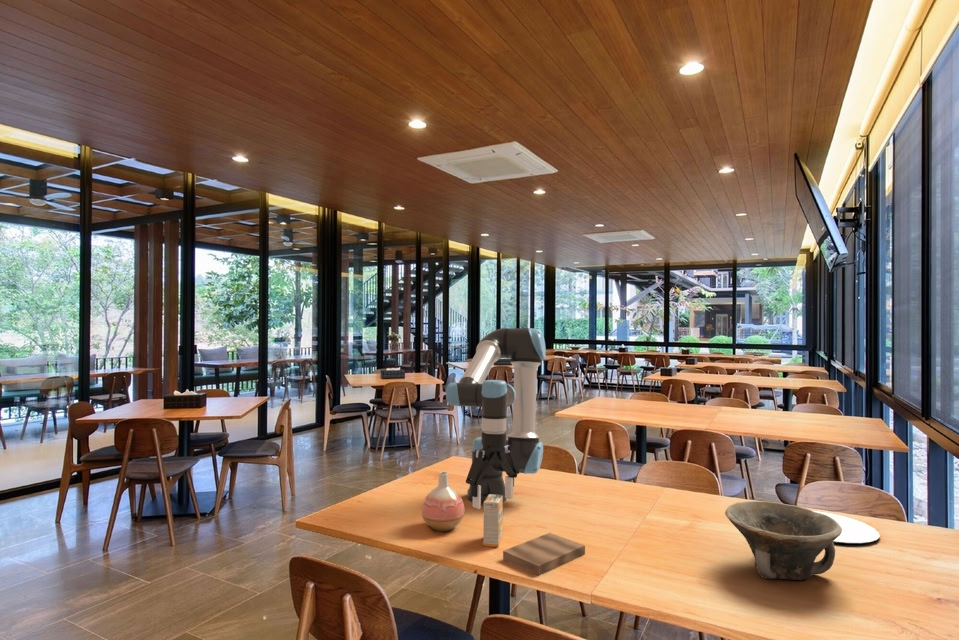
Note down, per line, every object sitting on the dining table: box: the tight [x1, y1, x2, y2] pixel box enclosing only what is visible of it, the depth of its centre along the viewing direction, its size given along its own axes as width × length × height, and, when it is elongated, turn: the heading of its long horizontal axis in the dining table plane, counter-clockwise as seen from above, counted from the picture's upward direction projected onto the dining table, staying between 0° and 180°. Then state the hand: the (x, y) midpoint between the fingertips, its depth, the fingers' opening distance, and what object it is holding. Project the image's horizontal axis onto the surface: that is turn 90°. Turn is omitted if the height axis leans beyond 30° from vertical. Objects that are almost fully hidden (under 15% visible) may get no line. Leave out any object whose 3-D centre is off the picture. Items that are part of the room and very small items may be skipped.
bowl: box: [724, 500, 842, 581], centre depth 143 cm, size 27×26×15 cm
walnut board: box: [502, 532, 586, 577], centre depth 152 cm, size 20×13×2 cm, turn 133°
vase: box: [421, 471, 465, 532], centre depth 174 cm, size 14×14×18 cm
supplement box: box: [482, 494, 504, 548], centre depth 163 cm, size 8×5×13 cm, turn 168°
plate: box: [813, 510, 881, 545], centre depth 175 cm, size 29×29×2 cm
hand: (493, 502), depth 163 cm, fingers open, 13 cm apart
